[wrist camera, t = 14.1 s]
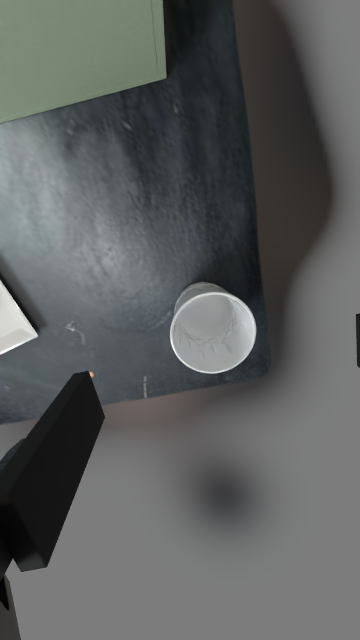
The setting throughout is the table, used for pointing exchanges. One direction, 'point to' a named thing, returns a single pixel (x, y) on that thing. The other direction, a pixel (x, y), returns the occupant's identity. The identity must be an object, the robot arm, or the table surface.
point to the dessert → (12, 323)
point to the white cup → (211, 328)
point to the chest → (76, 51)
